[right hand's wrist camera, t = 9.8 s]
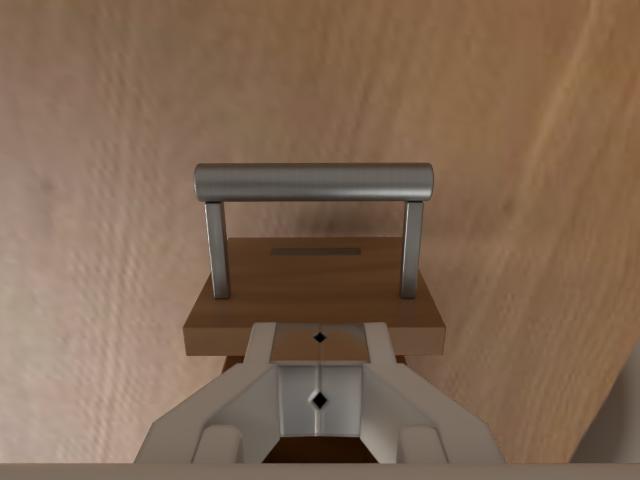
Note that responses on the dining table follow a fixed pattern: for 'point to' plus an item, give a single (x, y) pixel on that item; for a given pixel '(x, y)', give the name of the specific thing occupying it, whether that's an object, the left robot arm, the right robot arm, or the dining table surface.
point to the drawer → (313, 273)
